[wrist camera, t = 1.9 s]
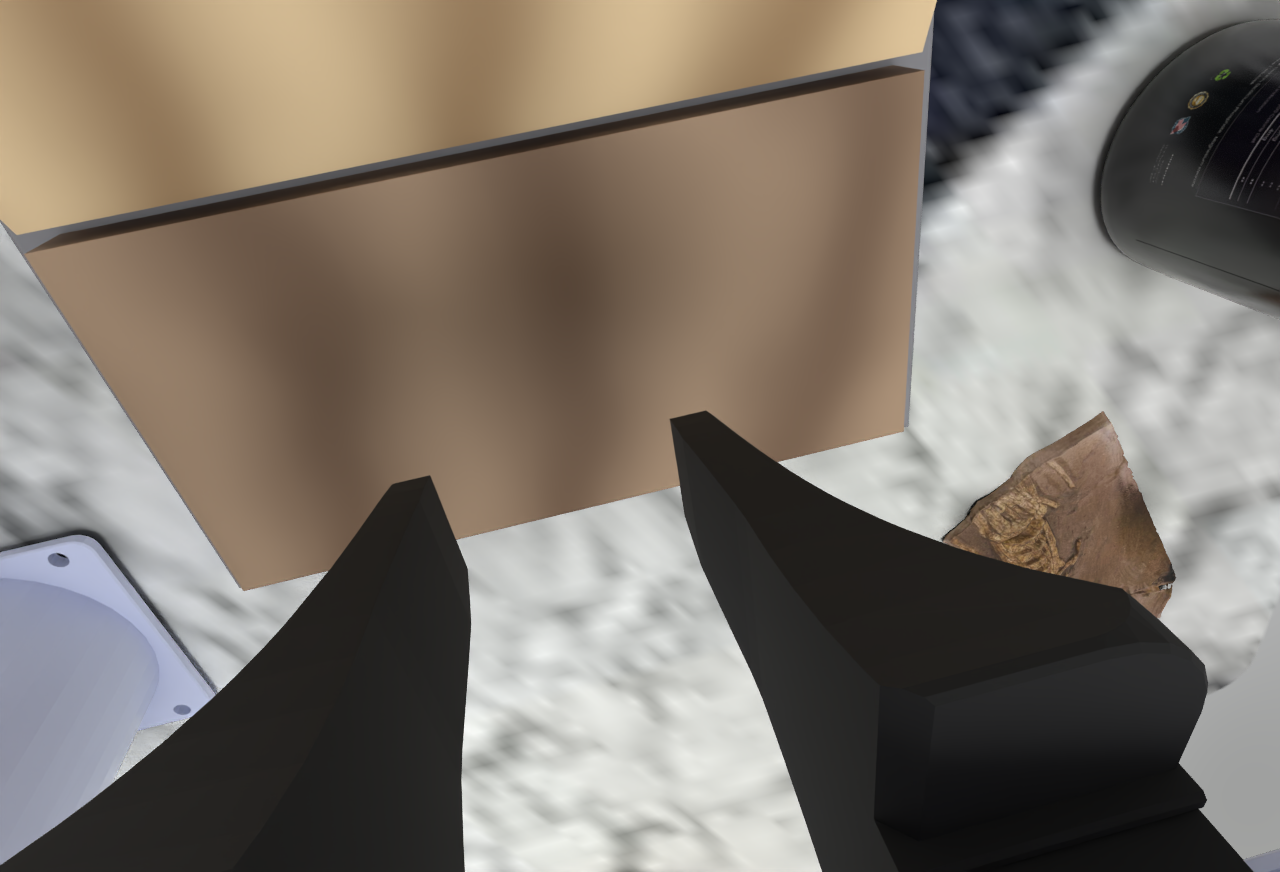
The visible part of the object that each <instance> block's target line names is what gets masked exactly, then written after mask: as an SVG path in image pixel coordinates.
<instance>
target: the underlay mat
mask: <svg viewBox="0 0 1280 872" xmlns="http://www.w3.org/2000/svg"><path fill="white" fill-rule="evenodd" d="M933 21H934V12H933V16H932V20H931V23H930V27H929V30H928V34H927V37H926V41H925V45H924V48H923V52H920V53H915V54H910V55H905V56H900V57H895V58H890V59H885V60H880V61H876V62H871V63H866V64H861V65H856V66H851V67H846V68H841V69H836V70H831V71H826V72H821V73H816V74H811V75H806V76H801V77H796V78H791V79H786V80H782V81H777V82H772V83H767V84H762V85H757V86H752V87H747V88H742V89H737V90H732V91H727V92H722V93H717V94H712V95H707V96H702V97H697V98H693V99H688V100H683V101H678V102H673V103H668V104H663V105H658V106H653V107H648V108H643V109H638V110H633V111H628V112H623V113H618V114H613V115H608V116H603V117H599V118H594V119H589V120H584V121H579V122H574V123H569V124H564V125H559V126H554V127H549V128H544V129H539V130H534V131H529V132H524V133H519V134H514V135H509V136H505V137H500V138H495V139H490V140H485V141H480V142H475V143H470V144H465V145H460V146H455V147H450V148H445V149H440V150H435V151H430V152H425V153H420V154H415V155H411V156H406V157H401V158H396V159H391V160H386V161H381V162H376V163H371V164H366V165H361V166H356V167H351V168H346V169H341V170H336V171H331V172H326V173H322V174H317V175H312V176H307V177H302V178H297V179H292V180H287V181H282V182H277V183H272V184H267V185H262V186H257V187H252V188H247V189H242V190H237V191H232V192H228V193H223V194H218V195H213V196H208V197H203V198H198V199H193V200H188V201H183V202H178V203H173V204H168V205H163V206H158V207H153V208H148V209H143V210H138V211H134V212H129V213H124V214H119V215H114V216H109V217H104V218H99V219H94V220H89V221H84V222H79V223H74V224H69V225H64V226H59V227H54V228H49V229H44V230H40V231H35V232H30V233H25V234H20V235H16V234H15V233H14V232H13V231H12V230H11V229H10V228H9V227H7V226H6V225H5V224H4V223H3V222H2V221H1V220H0V222H1V224H2V225H3V227H4V228H5V230H6V231H7V233H8V234H9V236H10V237H11V239H12V240H13V242H14V244H15V245H16V247H17V248H18V250H19V251H20V253H21V254H22V256H23V257H24V259H25V260H26V262H27V263H28V265H29V266H30V268H31V270H32V271H33V273H34V274H35V276H36V277H37V279H38V280H39V282H40V283H41V285H42V286H43V288H44V289H45V291H46V292H47V294H48V296H49V297H50V299H51V300H52V302H53V303H54V305H55V306H56V308H57V309H58V311H59V312H60V314H61V315H62V317H63V318H64V320H65V322H66V323H67V325H68V326H69V328H70V329H71V331H72V332H73V334H74V335H75V337H76V338H77V340H78V341H79V343H80V344H81V346H82V348H83V349H84V351H85V352H86V354H87V355H88V357H89V358H90V360H91V361H92V363H93V364H94V366H95V367H96V369H97V370H98V372H99V374H100V375H101V377H102V378H103V380H104V381H105V383H106V384H107V386H108V387H109V389H110V390H111V392H112V393H113V395H114V396H115V398H116V400H117V401H118V403H119V404H120V406H121V407H122V409H123V410H124V412H125V413H126V415H127V416H128V418H129V419H130V421H131V422H132V424H133V426H134V427H135V429H136V430H137V432H138V433H139V435H140V436H141V438H142V439H143V441H144V442H145V444H146V445H147V447H148V448H149V450H150V452H151V453H152V455H153V456H154V458H155V459H156V461H157V462H158V464H159V465H160V467H161V468H162V470H163V471H164V473H165V474H166V476H167V478H168V479H169V481H170V482H171V484H172V485H173V487H174V488H175V490H176V491H177V493H178V494H179V496H180V497H181V499H182V500H183V502H184V504H185V505H186V507H187V508H188V510H189V511H190V513H191V514H192V516H193V517H194V519H195V520H196V522H197V523H198V525H199V526H200V528H201V530H202V531H203V533H204V534H205V536H206V537H207V539H208V540H209V542H210V543H211V545H212V546H213V548H214V549H215V551H216V552H217V554H218V556H219V557H220V559H221V560H222V562H223V563H224V565H225V566H226V568H227V569H228V571H229V572H230V574H231V575H232V577H233V578H234V580H235V582H236V583H237V585H238V586H239V588H241V586H240V585H239V583H238V582H237V580H236V579H235V577H234V576H233V574H232V573H231V571H230V570H229V568H228V566H227V565H226V563H225V562H224V560H223V559H222V557H221V556H220V554H219V553H218V551H217V550H216V548H215V546H214V545H213V543H212V542H211V540H210V539H209V537H208V536H207V534H206V533H205V531H204V530H203V528H202V527H201V525H200V523H199V522H198V520H197V519H196V517H195V516H194V514H193V513H192V511H191V510H190V508H189V507H188V505H187V504H186V502H185V500H184V499H183V497H182V496H181V494H180V493H179V491H178V490H177V488H176V487H175V485H174V484H173V482H172V481H171V479H170V477H169V476H168V474H167V473H166V471H165V470H164V468H163V467H162V465H161V464H160V462H159V461H158V459H157V458H156V456H155V454H154V453H153V451H152V450H151V448H150V447H149V445H148V444H147V442H146V441H145V439H144V438H143V436H142V435H141V433H140V431H139V430H138V428H137V427H136V425H135V424H134V422H133V421H132V419H131V418H130V416H129V415H128V413H127V411H126V410H125V408H124V407H123V405H122V404H121V402H120V401H119V399H118V398H117V396H116V395H115V393H114V392H113V390H112V388H111V387H110V385H109V384H108V382H107V381H106V379H105V378H104V376H103V375H102V373H101V372H100V370H99V369H98V367H97V365H96V364H95V362H94V361H93V359H92V358H91V356H90V355H89V353H88V352H87V350H86V349H85V347H84V346H83V344H82V342H81V341H80V339H79V338H78V336H77V335H76V333H75V332H74V330H73V329H72V327H71V326H70V324H69V323H68V321H67V319H66V318H65V316H64V315H63V313H62V312H61V310H60V309H59V307H58V306H57V304H56V303H55V301H54V300H53V298H52V296H51V295H50V293H49V292H48V290H47V289H46V287H45V286H44V284H43V283H42V281H41V280H40V278H39V276H38V275H37V273H36V272H35V270H34V269H33V267H32V266H31V264H30V263H29V261H28V260H27V258H26V257H25V255H24V254H25V253H27V252H29V251H31V250H32V249H34V248H36V247H38V246H39V245H41V244H43V243H45V242H47V241H48V240H50V239H52V238H54V237H56V236H57V235H59V234H63V233H68V232H73V231H78V230H83V229H88V228H93V227H98V226H103V225H107V224H112V223H117V222H122V221H127V220H132V219H137V218H142V217H147V216H152V215H157V214H162V213H167V212H171V211H176V210H181V209H186V208H191V207H196V206H201V205H206V204H211V203H216V202H221V201H226V200H231V199H236V198H240V197H245V196H250V195H255V194H260V193H265V192H270V191H275V190H280V189H285V188H290V187H295V186H300V185H305V184H309V183H314V182H319V181H324V180H329V179H334V178H339V177H344V176H349V175H354V174H359V173H364V172H369V171H374V170H378V169H383V168H388V167H393V166H398V165H403V164H408V163H413V162H418V161H423V160H428V159H433V158H438V157H443V156H447V155H452V154H457V153H462V152H467V151H472V150H477V149H482V148H487V147H492V146H497V145H502V144H507V143H512V142H516V141H521V140H526V139H531V138H536V137H541V136H546V135H551V134H556V133H561V132H566V131H571V130H576V129H581V128H585V127H590V126H595V125H600V124H605V123H610V122H615V121H620V120H625V119H630V118H635V117H640V116H645V115H650V114H654V113H659V112H664V111H669V110H674V109H679V108H684V107H689V106H694V105H699V104H704V103H709V102H714V101H719V100H723V99H728V98H733V97H738V96H743V95H748V94H753V93H758V92H763V91H768V90H773V89H778V88H783V87H788V86H792V85H797V84H802V83H807V82H812V81H817V80H822V79H827V78H832V77H837V76H842V75H847V74H852V73H857V72H861V71H866V70H871V69H876V68H881V67H886V66H891V65H896V66H902V67H908V68H914V69H920V70H925V72H924V90H923V107H922V124H921V141H920V159H919V176H918V193H917V210H916V228H915V245H914V262H913V279H912V296H911V314H910V331H909V348H908V365H907V383H906V400H905V417H904V427H908V424H909V407H910V391H911V375H912V359H913V343H914V327H915V311H916V295H917V279H918V262H919V246H920V230H921V214H922V198H923V182H924V166H925V150H926V134H927V118H928V101H929V85H930V69H931V53H932V37H933Z"/></svg>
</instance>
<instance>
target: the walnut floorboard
mask: <svg viewBox="0 0 1280 872" xmlns="http://www.w3.org/2000/svg"><path fill="white" fill-rule="evenodd" d="M924 72H925V70H920V69H914V68H908V67H902V66H896V65H891V66H886V67H881V68H876V69H871V70H866V71H861V72H857V73H852V74H847V75H842V76H837V77H832V78H827V79H822V80H817V81H812V82H807V83H802V84H797V85H792V86H788V87H783V88H778V89H773V90H768V91H763V92H758V93H753V94H748V95H743V96H738V97H733V98H728V99H723V100H719V101H714V102H709V103H704V104H699V105H694V106H689V107H684V108H679V109H674V110H669V111H664V112H659V113H654V114H650V115H645V116H640V117H635V118H630V119H625V120H620V121H615V122H610V123H605V124H600V125H595V126H590V127H585V128H581V129H576V130H571V131H566V132H561V133H556V134H551V135H546V136H541V137H536V138H531V139H526V140H521V141H516V142H512V143H507V144H502V145H497V146H492V147H487V148H482V149H477V150H472V151H467V152H462V153H457V154H452V155H447V156H443V157H438V158H433V159H428V160H423V161H418V162H413V163H408V164H403V165H398V166H393V167H388V168H383V169H378V170H374V171H369V172H364V173H359V174H354V175H349V176H344V177H339V178H334V179H329V180H324V181H319V182H314V183H309V184H305V185H300V186H295V187H290V188H285V189H280V190H275V191H270V192H265V193H260V194H255V195H250V196H245V197H240V198H236V199H231V200H226V201H221V202H216V203H211V204H206V205H201V206H196V207H191V208H186V209H181V210H176V211H171V212H167V213H162V214H157V215H152V216H147V217H142V218H137V219H132V220H127V221H122V222H117V223H112V224H107V225H103V226H98V227H93V228H88V229H83V230H78V231H73V232H68V233H63V234H59V235H57V236H56V237H54V238H52V239H50V240H48V241H47V242H45V243H43V244H41V245H39V246H38V247H36V248H34V249H32V250H31V251H29V252H27V253H25V254H24V255H25V257H26V258H27V260H28V261H29V263H30V264H31V266H32V267H33V269H34V270H35V272H36V273H37V275H38V276H39V278H40V280H41V281H42V283H43V284H44V286H45V287H46V289H47V290H48V292H49V293H50V295H51V296H52V298H53V300H54V301H55V303H56V304H57V306H58V307H59V309H60V310H61V312H62V313H63V315H64V316H65V318H66V319H67V321H68V323H69V324H70V326H71V327H72V329H73V330H74V332H75V333H76V335H77V336H78V338H79V339H80V341H81V342H82V344H83V346H84V347H85V349H86V350H87V352H88V353H89V355H90V356H91V358H92V359H93V361H94V362H95V364H96V365H97V367H98V369H99V370H100V372H101V373H102V375H103V376H104V378H105V379H106V381H107V382H108V384H109V385H110V387H111V388H112V390H113V392H114V393H115V395H116V396H117V398H118V399H119V401H120V402H121V404H122V405H123V407H124V408H125V410H126V411H127V413H128V415H129V416H130V418H131V419H132V421H133V422H134V424H135V425H136V427H137V428H138V430H139V431H140V433H141V435H142V436H143V438H144V439H145V441H146V442H147V444H148V445H149V447H150V448H151V450H152V451H153V453H154V454H155V456H156V458H157V459H158V461H159V462H160V464H161V465H162V467H163V468H164V470H165V471H166V473H167V474H168V476H169V477H170V479H171V481H172V482H173V484H174V485H175V487H176V488H177V490H178V491H179V493H180V494H181V496H182V497H183V499H184V500H185V502H186V504H187V505H188V507H189V508H190V510H191V511H192V513H193V514H194V516H195V517H196V519H197V520H198V522H199V523H200V525H201V527H202V528H203V530H204V531H205V533H206V534H207V536H208V537H209V539H210V540H211V542H212V543H213V545H214V546H215V548H216V550H217V551H218V553H219V554H220V556H221V557H222V559H223V560H224V562H225V563H226V565H227V566H228V568H229V570H230V571H231V573H232V574H233V576H234V577H235V579H236V580H237V582H238V583H239V585H240V586H241V588H242V589H243V591H246V590H250V589H254V588H258V587H263V586H267V585H271V584H275V583H279V582H283V581H287V580H292V579H296V578H300V577H304V576H308V575H312V574H316V573H320V572H325V571H329V570H330V569H331V567H332V566H333V565H334V563H335V562H336V561H337V559H338V558H339V556H340V555H341V554H342V552H343V551H344V550H345V548H346V547H347V546H348V544H349V543H350V541H351V540H352V539H353V537H354V536H355V535H356V533H357V532H358V531H359V529H360V528H361V526H362V525H363V523H364V522H365V521H366V519H367V518H368V516H369V515H370V514H371V512H372V511H373V509H374V508H375V506H376V505H377V504H378V502H379V501H380V499H381V498H382V497H383V495H384V494H385V493H386V491H387V490H388V489H389V487H390V486H391V485H392V484H394V483H399V482H403V481H407V480H411V479H416V478H420V477H424V476H428V475H430V476H431V478H432V481H433V483H434V486H435V488H436V491H437V493H438V496H439V498H440V501H441V504H442V506H443V509H444V511H445V514H446V516H447V519H448V521H449V524H450V526H451V529H452V531H453V534H454V536H455V539H456V540H457V539H461V538H465V537H469V536H473V535H478V534H482V533H486V532H490V531H494V530H498V529H502V528H507V527H511V526H515V525H519V524H523V523H527V522H531V521H535V520H540V519H544V518H548V517H552V516H556V515H560V514H564V513H569V512H573V511H577V510H581V509H585V508H589V507H593V506H597V505H602V504H606V503H610V502H614V501H618V500H622V499H626V498H631V497H635V496H639V495H643V494H647V493H651V492H655V491H659V490H664V489H668V488H672V487H676V486H680V482H679V475H678V469H677V463H676V456H675V450H674V444H673V437H672V431H671V425H670V419H671V418H675V417H680V416H684V415H688V414H693V413H697V412H701V411H705V410H706V411H708V412H709V413H711V414H712V415H714V416H715V417H716V418H717V419H719V420H720V421H721V422H723V423H724V424H725V425H726V426H728V427H729V428H730V429H732V430H733V431H734V432H736V433H737V434H738V435H739V436H741V437H742V438H744V439H745V440H746V441H748V442H749V443H750V444H752V445H753V446H754V447H756V448H757V449H759V450H760V451H761V452H763V453H764V454H766V455H767V456H769V457H770V458H772V459H773V460H775V461H776V462H779V461H784V460H788V459H792V458H796V457H800V456H804V455H808V454H812V453H817V452H821V451H825V450H829V449H833V448H837V447H841V446H846V445H850V444H854V443H858V442H862V441H866V440H870V439H874V438H879V437H883V436H887V435H891V434H895V433H899V432H903V431H904V417H905V400H906V383H907V365H908V348H909V331H910V314H911V296H912V279H913V262H914V245H915V228H916V210H917V193H918V176H919V159H920V141H921V124H922V107H923V90H924Z"/></svg>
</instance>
